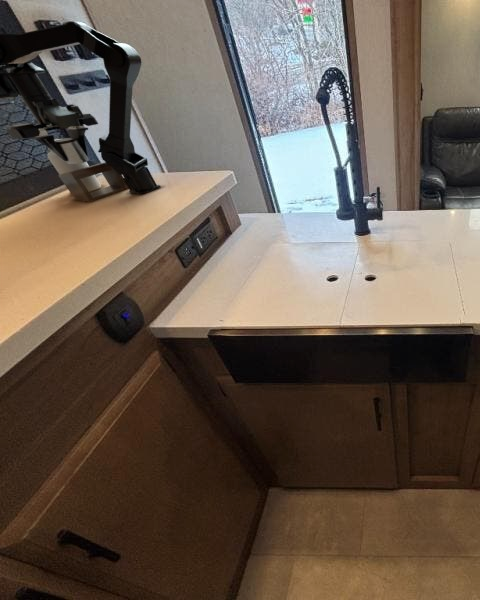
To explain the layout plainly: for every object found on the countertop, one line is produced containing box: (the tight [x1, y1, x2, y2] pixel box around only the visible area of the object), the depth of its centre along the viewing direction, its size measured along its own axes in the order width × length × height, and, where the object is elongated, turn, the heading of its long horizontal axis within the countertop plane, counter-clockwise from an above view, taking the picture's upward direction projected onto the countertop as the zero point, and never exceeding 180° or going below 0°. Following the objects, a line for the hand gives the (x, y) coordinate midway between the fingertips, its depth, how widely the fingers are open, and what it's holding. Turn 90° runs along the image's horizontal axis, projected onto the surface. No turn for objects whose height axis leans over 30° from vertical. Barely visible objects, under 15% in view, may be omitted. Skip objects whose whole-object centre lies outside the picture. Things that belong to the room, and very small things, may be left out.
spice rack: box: [57, 161, 129, 203], centre depth 99 cm, size 8×12×9 cm, turn 157°
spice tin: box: [54, 137, 90, 164], centre depth 92 cm, size 5×5×6 cm
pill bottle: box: [46, 138, 102, 193], centre depth 101 cm, size 8×8×15 cm
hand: (76, 158), depth 94 cm, fingers closed on spice tin, 5 cm apart
